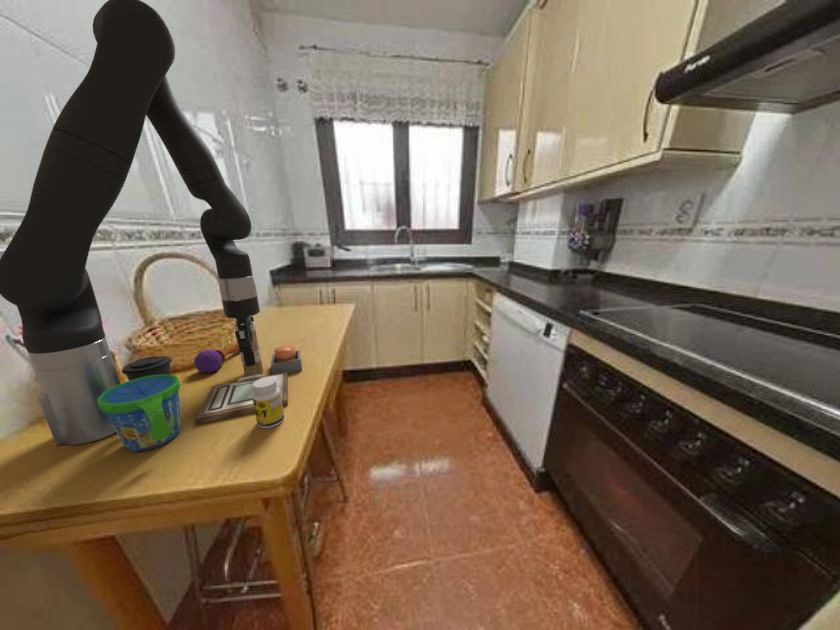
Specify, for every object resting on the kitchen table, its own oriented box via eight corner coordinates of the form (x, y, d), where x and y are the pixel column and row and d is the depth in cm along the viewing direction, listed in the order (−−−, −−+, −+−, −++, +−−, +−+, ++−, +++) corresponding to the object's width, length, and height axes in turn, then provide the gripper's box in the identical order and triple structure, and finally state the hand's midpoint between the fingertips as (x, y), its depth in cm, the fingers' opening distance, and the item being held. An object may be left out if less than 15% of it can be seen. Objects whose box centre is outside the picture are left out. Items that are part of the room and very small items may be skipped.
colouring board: (197, 424, 60) (195, 414, 59) (213, 390, 72) (211, 382, 72) (288, 404, 66) (286, 396, 65) (287, 376, 78) (286, 369, 77)
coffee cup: (154, 415, 63) (141, 369, 60) (123, 411, 65) (108, 367, 62) (190, 394, 71) (180, 353, 68) (161, 391, 72) (150, 351, 70)
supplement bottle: (251, 425, 59) (243, 384, 57) (273, 412, 63) (266, 374, 61) (268, 432, 57) (261, 390, 55) (290, 418, 61) (283, 378, 59)
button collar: (272, 375, 79) (270, 364, 78) (273, 364, 85) (272, 354, 84) (302, 370, 81) (300, 359, 81) (301, 360, 88) (299, 350, 87)
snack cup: (201, 443, 54) (187, 391, 51) (118, 478, 47) (97, 419, 44) (182, 410, 65) (170, 364, 62) (112, 434, 57) (95, 384, 55)
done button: (276, 367, 80) (274, 353, 79) (276, 360, 84) (274, 347, 83) (297, 364, 82) (295, 350, 81) (296, 357, 86) (294, 344, 85)
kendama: (257, 335, 98) (211, 356, 78) (256, 353, 99) (210, 378, 79) (238, 332, 98) (188, 352, 78) (238, 350, 99) (188, 374, 80)
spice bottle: (266, 372, 80) (257, 322, 77) (247, 378, 77) (236, 327, 74) (260, 367, 84) (251, 319, 80) (241, 373, 81) (231, 323, 77)
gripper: (226, 291, 80) (238, 354, 85) (215, 303, 67) (230, 376, 72) (259, 289, 83) (269, 349, 87) (254, 299, 70) (266, 370, 75)
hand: (251, 361), depth 80 cm, fingers closed on spice bottle, 4 cm apart
